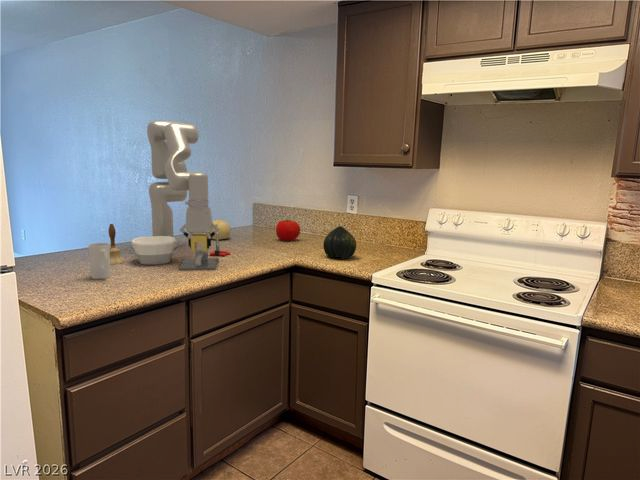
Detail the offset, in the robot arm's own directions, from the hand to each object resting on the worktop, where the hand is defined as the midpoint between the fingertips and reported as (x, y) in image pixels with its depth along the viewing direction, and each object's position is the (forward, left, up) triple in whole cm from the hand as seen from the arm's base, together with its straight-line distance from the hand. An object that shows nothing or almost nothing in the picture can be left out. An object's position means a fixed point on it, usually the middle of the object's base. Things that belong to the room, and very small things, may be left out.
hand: (199, 247), depth 183 cm
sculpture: (+4, +61, -7) cm, 62 cm away
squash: (+61, +13, -7) cm, 63 cm away
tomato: (+41, +57, -7) cm, 71 cm away
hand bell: (-35, +6, -7) cm, 36 cm away
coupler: (0, 0, -7) cm, 7 cm away
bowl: (-19, +7, -7) cm, 22 cm away
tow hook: (+7, +21, -8) cm, 24 cm away
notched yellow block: (0, 0, -1) cm, 1 cm away
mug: (-32, -19, -7) cm, 38 cm away
